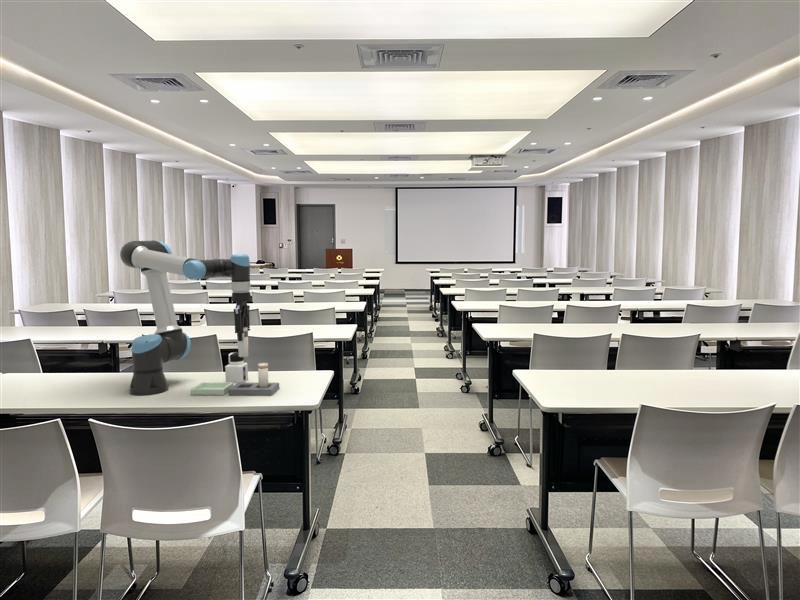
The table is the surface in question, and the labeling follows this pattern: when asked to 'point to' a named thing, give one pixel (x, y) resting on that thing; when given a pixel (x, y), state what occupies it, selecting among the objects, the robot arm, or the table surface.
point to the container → (236, 369)
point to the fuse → (263, 375)
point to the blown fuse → (245, 351)
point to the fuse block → (252, 389)
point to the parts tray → (211, 388)
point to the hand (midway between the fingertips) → (243, 347)
